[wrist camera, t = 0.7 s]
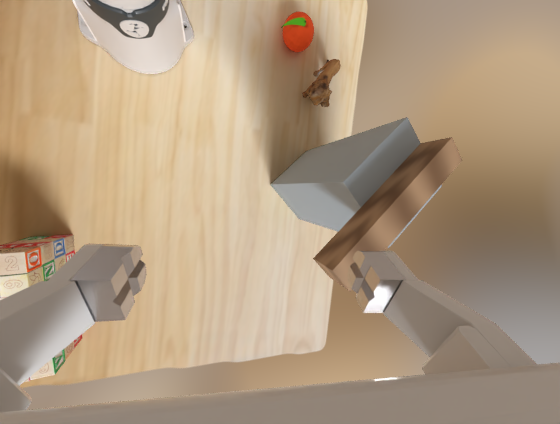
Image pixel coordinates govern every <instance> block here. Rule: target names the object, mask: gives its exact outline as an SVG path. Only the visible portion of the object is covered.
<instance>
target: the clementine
mask: <svg viewBox="0 0 560 424" xmlns="http://www.w3.org/2000/svg"><path fill="white" fill-rule="evenodd" d="M283 26H284V27H283ZM283 26H282V27H283V39H284V42H285V44H286V46H287V47H288V48H289V49H290V50H292V51H294V52H301V51H303V50H305V49H306V48H307V47H308V46H309V45H310V43H311V41H312V39H313V35H314V27H313V23H312V20H311V18H310V17H309V16H308V15H307V14H306V13H303V12H295V13H293V14H291V15H290V16H289V17H288V18H287V20H286V21H285V24H284V25H283ZM282 27H281V28H282Z"/></svg>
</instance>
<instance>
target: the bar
mask: <svg viewBox="0 0 560 424" xmlns="http://www.w3.org/2000/svg"><path fill="white" fill-rule="evenodd" d="M461 161H462V158H461V156H460V154H459V152H458V149H457V147H456V145H455V143H454V140H453V138H452V137H451V138H446V139H441V140H436V141H431V142H425V143H421V144H420V145H419V146H418V147H417V148H416V149H415V150H414V151H413V152H412V153H411V154H410V155H409V156H408V158H407V159H406V160H405V161H404V162H403V163H402V164H401V165H400V166H399V167H398V168H397V169H396V170H395V171H394V173H393V174H392V175H391V176H390V177H389V178H388V179H387V180H386V181H385V182H384V183H383V184H382V185H381V186H380V188H379V189H378V190H377V191H376V192H375V193H374V194H373V195H372V196H371V197H370V198H369V199H368V200H367V202H366V203H365V204H364V205H363V206H362V207H361V208H360V209H359V210H358V211H357V212H356V213H355V214H354V215H353V217H352V218H351V219H350V220H349V221H348V222H347V223H346V224H345V225H344V226H343V227H342V228H341V229H340V230H339V232H338V233H337V234H336V235H335V236H334V237H333V238H332V239H331V240H330V241H329V242H328V243H327V244H326V246H325V247H324V248H323V249H322V250H321V251H320V252H319V253H318V254H317V255H316V256H315V257H314V258H313V259H314V260H315V261H316V262H317V263H318V265H319V266H320V267H321V268H322V269H323V270H324V271H325V273H326V274H327V275H328V276H329V277H330V278H332V279H333V280H335V281H336V282H337V283H339V284H340V285H342V286H343V287H345V288H346V289H347V290H349V291H351V287H350V285H349V282H348V269H349V266H350V265H351V264H353V263H354V259H353V256H354V254H355V253H356V252H357V251H385V250H386V249H387V248H388V246H389V245H390V244H391V243H392V242H393V241H394V239H395V238H396V237H397V236H398V235H399V234H400V232H401V231H402V230H403V229H404V228H405V227H406V225H407V224H408V223H409V222H410V221H411V220H412V218H413V217H414V216H415V215H416V214H417V213H418V211H419V210H420V209H421V208H422V207H423V206H424V204H425V203H426V202H427V201H428V200H429V199H430V197H431V196H432V195H433V194H434V193H435V191H436V190H437V189H438V188H439V187H440V186H441V184H442V183H443V182H444V181H445V180H446V179H447V177H448V176H449V175H450V174H451V173H452V172H453V170H454V169H455V168H456V167H457V166H458V165H459V163H460V162H461Z"/></svg>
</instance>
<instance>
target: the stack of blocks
mask: <svg viewBox="0 0 560 424" xmlns="http://www.w3.org/2000/svg"><path fill="white" fill-rule="evenodd" d="M74 254H75V251H74V237H73V235H55V236H39V237H28V238H25V239H21V240H18V241H15V242H11V243H7V244H3V245H0V300H2V299H4V298H6V297H9V296H11V295H13V294H15V293H17V292H19V291H21V290H23V289H25V288H28V287H30V286H32V285H34V284H36V283H38V282H40V281H48V280H49V279H50V278H51V277H52V276H53V275H54V274H55V273H56V272H57V271H58V270H59V269H60V268H61V267H62V266H63V265H64V264H65V263H66V262H67V261H68V260H69V259H70V258H71V257H72V256H73V255H74ZM81 339H82V334H81V335H80V336H79V337H78V338H77V339H75V340H74V341H73V342H72V343H70V344H69V345H68V346H67V347H66V348H64V349H63V350H62V351H61V352H60V353H58V354H57V355H56V356H55V357H53V358H52V359H51V360H50V361H49V362H47V363H46V364H45V365H44V366H43V367H41V368H40V369H39V370H38V371H36V372H35V373H34V374H33V375H32V376H30V377H29V378H28V379H27V380H25V381H24V382H26V381H29V380H33V379H38V378H42V377H46V376H51V375H55V374H56V372H57V371H58V370H59V369H60V367H61V366H62V365H63V364H64V362H65V360H66V359H67V357H68V356H69V355H70V354H71V352H72V351H73V350H74V348H75V347H76V345H77V344H78V343H79V342H80V340H81Z"/></svg>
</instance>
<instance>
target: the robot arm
mask: <svg viewBox="0 0 560 424" xmlns="http://www.w3.org/2000/svg"><path fill="white" fill-rule="evenodd" d="M72 1H73V3H74V5H75V7H76V9H77V10H78V20H79V28H80V31H81V32H82V34H83V36H84V37H85V38H87V39H88V40H90V41H91V42H93V43H95V44H97V45H99V46H101V47H102V48H104V49H105V50H106V51H107V52H108V53H109V54H110V55H111V56H112V57H113V58H114V59H115V60H116V61H118V62H119V63H120V64H122V65H123V66H125V67H127V68H129V69H131V70H134V71H136V72H140V73H145V74H157V73H162V72H165V71H167V70H169V69H171V68H172V67H173V66H174V65H175V64H176V63H177V62H178V61H179V59H180V57H181V55H182V52H183V50H184V48H185V47H186V46H187V45H188V44H190V43H191V42H192V41H193V39H194V33H193V30H192V27H191V25H190V22H189V20H188V17H187V15H186V13H185V10H184V8H183V5H182V3H181V0H72ZM184 26H186V27H187V28H184ZM142 255H143V253H142V250H141V247H140V246H138V245H118V244H86V245H84V246H83V247H82V248H81V249H80V250H79V251H78V252H76V253H75V254H74V255H73V256H72V257H71V258H70V259H69V260H68V261H67V262H66V263H65V264H64V265H63V266H62V267H61V268H60V269H59V270H58V271H57V272H56V273H55V274H54V275H53V276H52V277H51V278H50V279H49V280H48V281H40V282H38V283H36V284H34V285H32V286H30V287H28V288H25V289H23V290H21V291H19V292H17V293H15V294H13V295H11V296H9V297H6V298H4V299H2V300H0V424H560V363H550V364H539V365H537V364H536V363H535V362H534V361H533V360H532V359H531V358H530V357H529V356H528V355H527V354H526V353H525V352H524V351H523V350H522V349H521V348H520V347H519V346H518V345H517V344H516V343H515V342H514V341H513V340H512V339H511V338H510V337H509V336H508V335H507V334H506V333H505V332H504V331H503V330H502V329H501V328H500V327H499V326H497V324H496V323H494V322H492V321H490V320H489V319H487V318H485V317H484V316H482V315H480V314H478V313H477V312H475V311H474V310H472V309H470V308H468V307H467V306H465V305H463V304H462V303H460V302H458V301H456V300H455V299H453V298H451V297H450V296H448V295H446V294H445V293H443V292H441V291H439V290H438V289H436V288H434V287H433V286H431V285H429V284H428V283H426V282H424V281H422V280H421V281H420V280H418V279H417V278H416V276H415V275H414V274H413V273H412V272H411V271H410V269H409V268H408V267H407V266H406V265H405V264H404V263H403V261H402V260H401V259H400V258H399V257H398V256H397V254H396V253H394V252H393V251H357V252H356V253H355V254H354V256H353V259H354V263H353V264H351V265H350V266H349V269H348V282H349V285H350V287H351V289H352V290H354V291H355V292H356V293H357V295H356V299H357V301H358V303H359V305H360V307H361V309H362V311H363V313H383V314H384V315H385V316H386V317H387V318H388V319H389V320H390V321H391V322H392V323H394V324H395V325H396V326H397V327H398V328H399V329H400V330H401V331H402V332H403V333H404V334H405V335H406V336H408V337H409V338H410V339H411V340H412V341H413V342H414V343H415V344H416V345H417V346H418V347H419V348H420V349H422V350H423V351H424V352H425V353H426V354H427V355H428V356H429V357H430V358H429V359H428V360H427V361H426V362H425V363H424V364H423V367H422V369H423V371H424V373H425V375H415V376H403V377H392V378H381V379H370V380H358V381H347V382H337V383H326V384H325V383H324V384H313V385H302V386H291V387H280V388H268V389H257V390H246V391H234V392H223V393H212V394H201V395H189V396H178V397H167V398H155V399H144V400H134V401H122V402H110V403H99V404H88V405H77V406H66V407H54V408H43V409H32V410H26V409H27V408H28V406H29V405H30V403H31V397H30V395H28V394H27V393H26V392H25V391H24V390H23V389H22V388H21V387H20V386H19V385H21V384H22V383H23V382H24V381H25V380H27V379H28V378H29V377H30V376H32V375H33V374H34V373H35V372H36V371H38V370H39V369H40V368H41V367H43V366H44V365H45V364H46V363H47V362H49V361H50V360H51V359H52V358H53V357H55V356H56V355H57V354H58V353H60V352H61V351H62V350H63V349H64V348H66V347H67V346H68V345H69V344H70V343H72V342H73V341H74V340H75V339H77V338H78V337H79V336H80V335H81V334H83V333H84V332H85V331H86V330H87V329H89V328H90V327H91V326H92V325H94V324H95V322H98V321H116V320H126V318H127V316H128V314H129V312H130V310H131V308H132V306H133V305H134V303H135V300H134V297H133V296H134V295H135V294H137V293H138V292H140V291H141V289H142V287H143V285H144V283H145V278H146V266H145V263H143V262H142V261H141V260H140V258H141V256H142Z"/></svg>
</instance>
